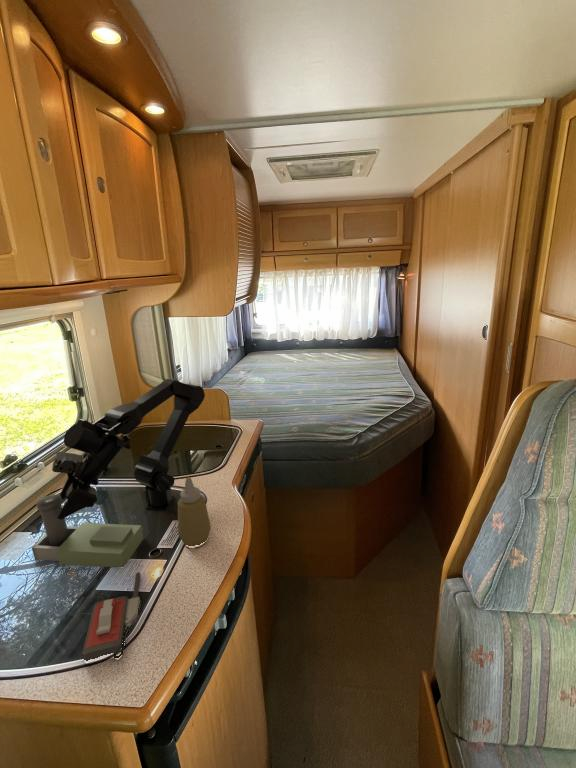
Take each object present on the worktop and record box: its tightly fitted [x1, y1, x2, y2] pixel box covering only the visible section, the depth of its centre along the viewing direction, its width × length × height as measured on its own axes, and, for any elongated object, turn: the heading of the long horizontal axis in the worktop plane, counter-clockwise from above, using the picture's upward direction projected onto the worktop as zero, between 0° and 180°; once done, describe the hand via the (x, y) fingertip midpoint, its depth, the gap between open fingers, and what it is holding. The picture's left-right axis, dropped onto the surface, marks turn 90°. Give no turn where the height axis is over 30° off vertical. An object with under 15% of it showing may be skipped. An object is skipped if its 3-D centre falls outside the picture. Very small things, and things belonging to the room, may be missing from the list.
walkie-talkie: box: [81, 572, 141, 661], centre depth 75 cm, size 9×4×20 cm
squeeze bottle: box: [177, 477, 212, 546], centre depth 94 cm, size 8×8×18 cm
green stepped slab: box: [31, 522, 144, 568], centre depth 94 cm, size 23×10×5 cm, turn 84°
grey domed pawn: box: [35, 493, 69, 547], centre depth 93 cm, size 5×5×14 cm
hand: (59, 508), depth 93 cm, fingers open, 9 cm apart
